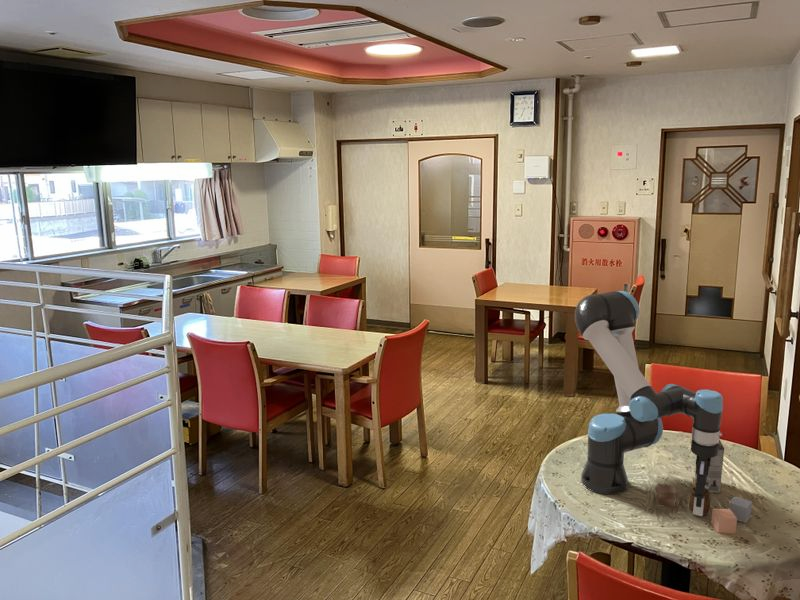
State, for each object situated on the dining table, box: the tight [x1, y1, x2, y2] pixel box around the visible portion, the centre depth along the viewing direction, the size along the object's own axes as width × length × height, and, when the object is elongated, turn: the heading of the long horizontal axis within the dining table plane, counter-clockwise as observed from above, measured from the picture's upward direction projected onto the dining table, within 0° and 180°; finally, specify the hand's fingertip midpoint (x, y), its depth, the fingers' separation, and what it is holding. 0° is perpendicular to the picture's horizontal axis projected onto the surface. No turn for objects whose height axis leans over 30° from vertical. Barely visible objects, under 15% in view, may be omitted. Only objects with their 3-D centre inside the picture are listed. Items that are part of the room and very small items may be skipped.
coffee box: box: [694, 439, 725, 494], centre depth 218 cm, size 9×6×16 cm
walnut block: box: [656, 483, 677, 508], centre depth 210 cm, size 5×5×5 cm
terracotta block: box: [710, 508, 738, 534], centre depth 195 cm, size 5×5×5 cm
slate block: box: [728, 496, 753, 524], centre depth 201 cm, size 5×5×5 cm
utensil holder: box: [688, 476, 711, 516], centre depth 203 cm, size 6×6×12 cm
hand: (698, 509), depth 204 cm, fingers closed on utensil holder, 6 cm apart
